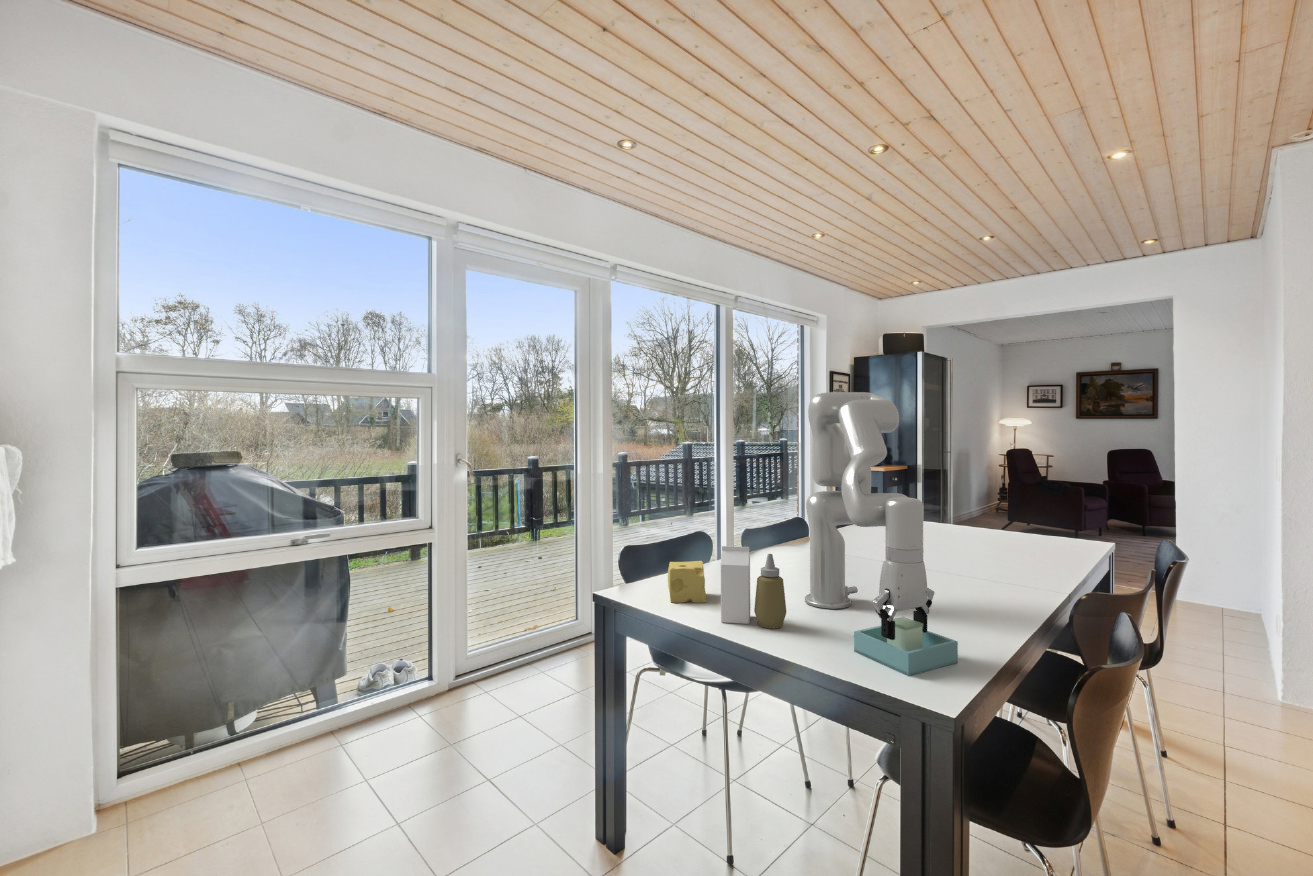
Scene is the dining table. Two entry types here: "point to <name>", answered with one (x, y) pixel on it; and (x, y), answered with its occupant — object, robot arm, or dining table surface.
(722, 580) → the milk carton
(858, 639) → the bin
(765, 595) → the squeeze bottle
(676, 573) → the cheese
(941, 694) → the dining table surface
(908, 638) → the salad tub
